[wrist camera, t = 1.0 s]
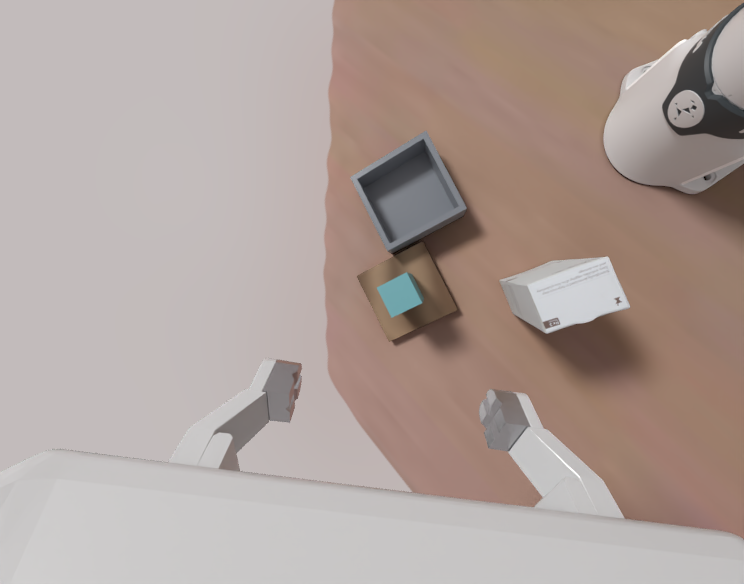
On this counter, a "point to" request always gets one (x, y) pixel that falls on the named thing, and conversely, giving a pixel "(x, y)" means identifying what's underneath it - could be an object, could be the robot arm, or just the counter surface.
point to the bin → (409, 193)
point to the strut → (400, 294)
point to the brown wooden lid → (428, 282)
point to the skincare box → (565, 293)
